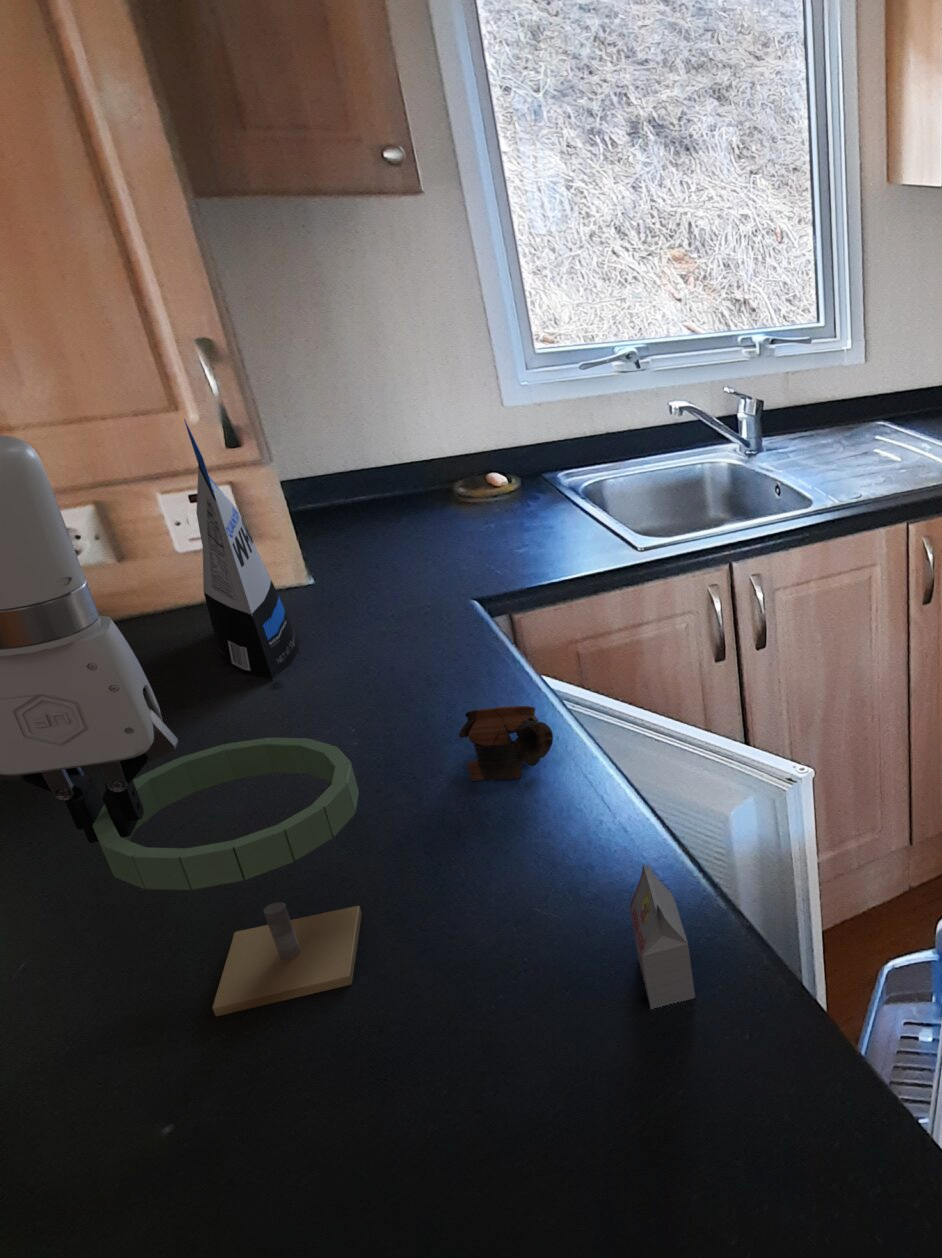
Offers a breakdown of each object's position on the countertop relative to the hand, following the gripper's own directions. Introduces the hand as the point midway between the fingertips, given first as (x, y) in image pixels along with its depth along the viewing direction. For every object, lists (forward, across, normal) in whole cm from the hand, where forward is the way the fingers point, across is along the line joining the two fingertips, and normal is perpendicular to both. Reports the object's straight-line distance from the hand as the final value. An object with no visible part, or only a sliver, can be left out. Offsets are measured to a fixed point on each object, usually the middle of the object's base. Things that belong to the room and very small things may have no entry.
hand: (115, 828), depth 82 cm
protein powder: (+17, -4, +72) cm, 75 cm away
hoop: (+1, +8, 0) cm, 8 cm away
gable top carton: (+16, +39, -14) cm, 44 cm away
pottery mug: (+16, +28, +28) cm, 42 cm away
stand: (+16, +9, 0) cm, 18 cm away
